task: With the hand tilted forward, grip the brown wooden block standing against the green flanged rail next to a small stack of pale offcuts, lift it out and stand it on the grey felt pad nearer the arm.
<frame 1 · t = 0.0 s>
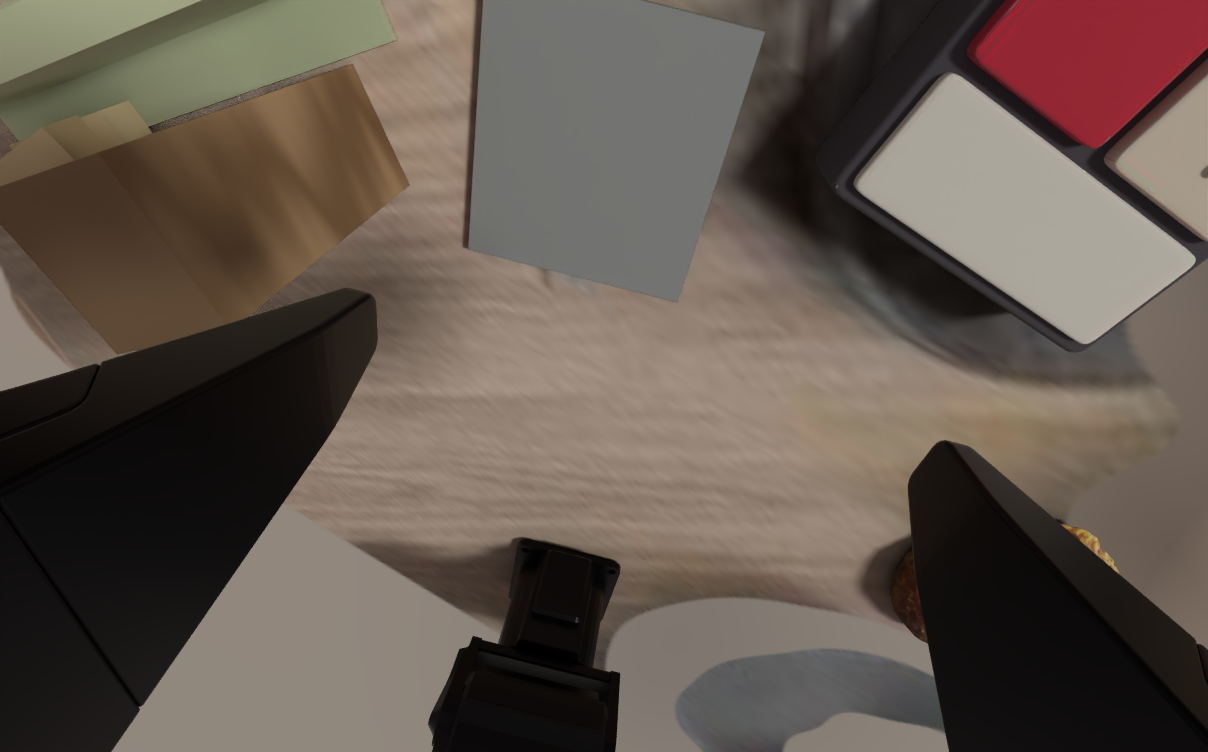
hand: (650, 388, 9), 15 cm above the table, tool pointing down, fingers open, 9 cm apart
felt pad: (597, 153, 22), on the table
offcut upper: (113, 207, 24), point 2 cm above the table, touching offcut lower
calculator: (1119, 38, 18), on the table
bread roll: (993, 570, 32), on the table
green flanged rail: (240, 171, 24), on the table
offcut lower: (147, 198, 25), on the table, touching offcut upper, green flanged rail
brown wooden block: (339, 140, 23), on the table
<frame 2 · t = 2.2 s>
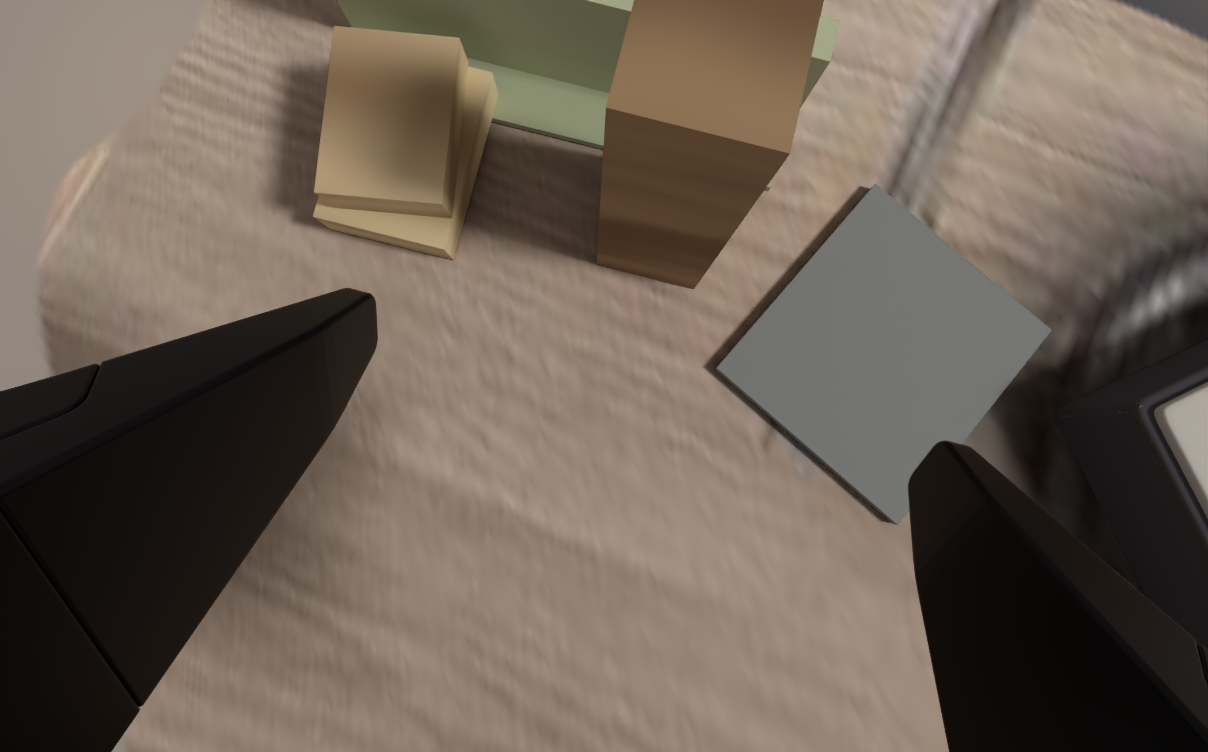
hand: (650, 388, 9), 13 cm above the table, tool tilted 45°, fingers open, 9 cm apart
felt pad: (881, 350, 23), on the table
offcut upper: (401, 134, 22), point 2 cm above the table, touching offcut lower
green flanged rail: (538, 194, 23), on the table
offcut lower: (415, 161, 23), on the table, touching offcut upper, green flanged rail
brown wooden block: (658, 224, 23), on the table
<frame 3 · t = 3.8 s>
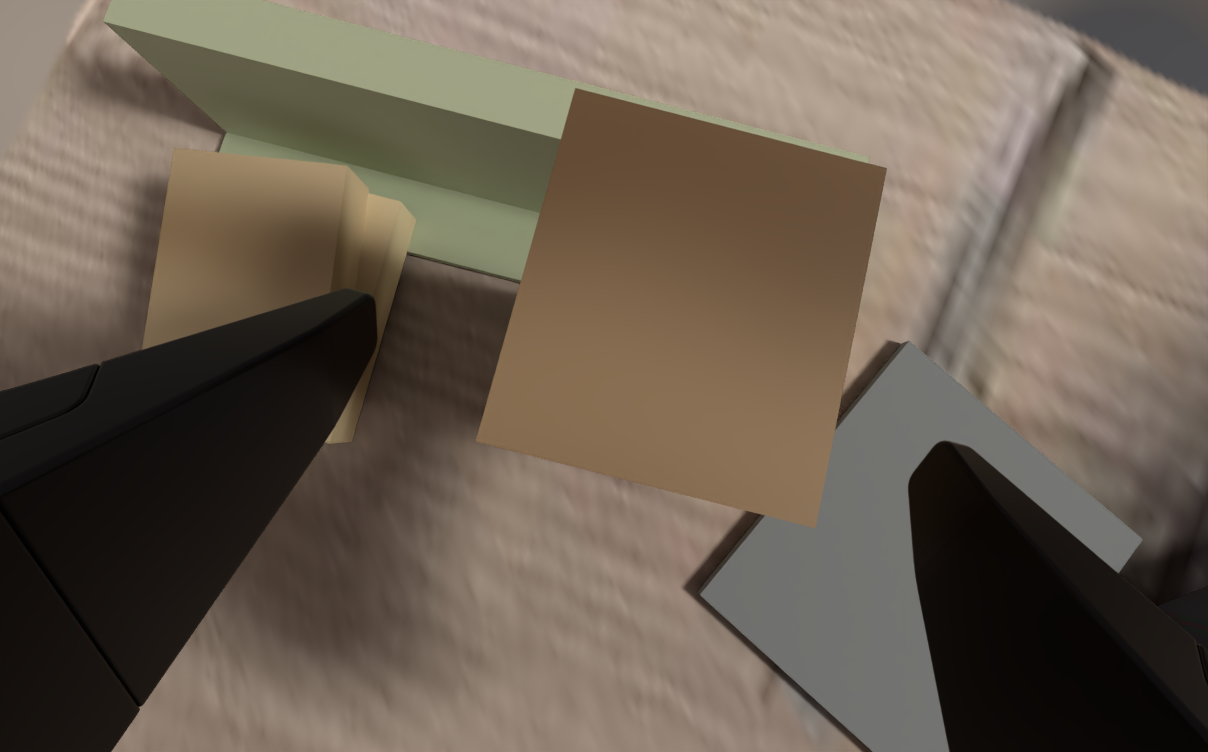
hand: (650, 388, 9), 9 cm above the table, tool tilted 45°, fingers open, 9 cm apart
felt pad: (917, 563, 17), on the table
offcut upper: (275, 285, 16), point 2 cm above the table, touching offcut lower
green flanged rail: (467, 351, 18), on the table
offcut lower: (304, 308, 18), on the table, touching offcut upper, green flanged rail
brown wooden block: (624, 391, 18), on the table
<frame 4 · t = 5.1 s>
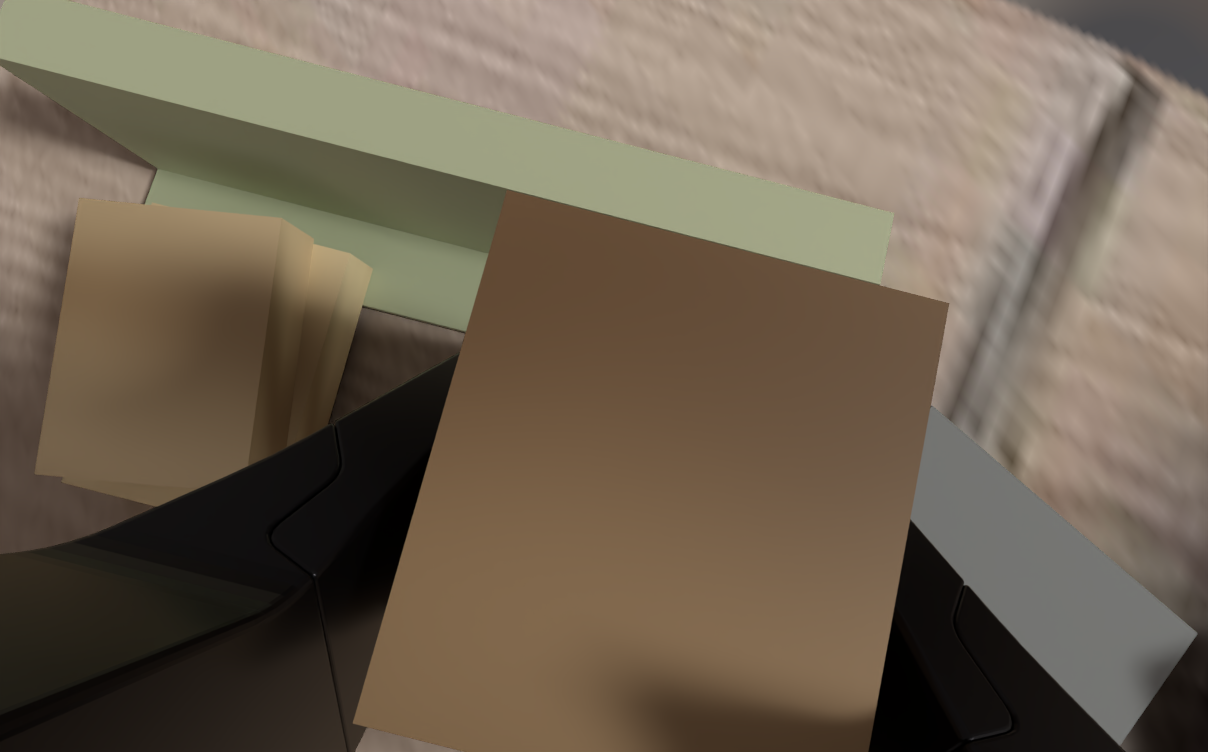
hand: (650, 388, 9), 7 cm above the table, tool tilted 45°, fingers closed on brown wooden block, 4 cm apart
felt pad: (941, 660, 15), on the table
offcut upper: (206, 351, 14), point 2 cm above the table, touching offcut lower
green flanged rail: (430, 418, 16), on the table
offcut lower: (245, 370, 15), on the table, touching offcut upper, green flanged rail
brown wooden block: (609, 463, 16), on the table, touching gripper
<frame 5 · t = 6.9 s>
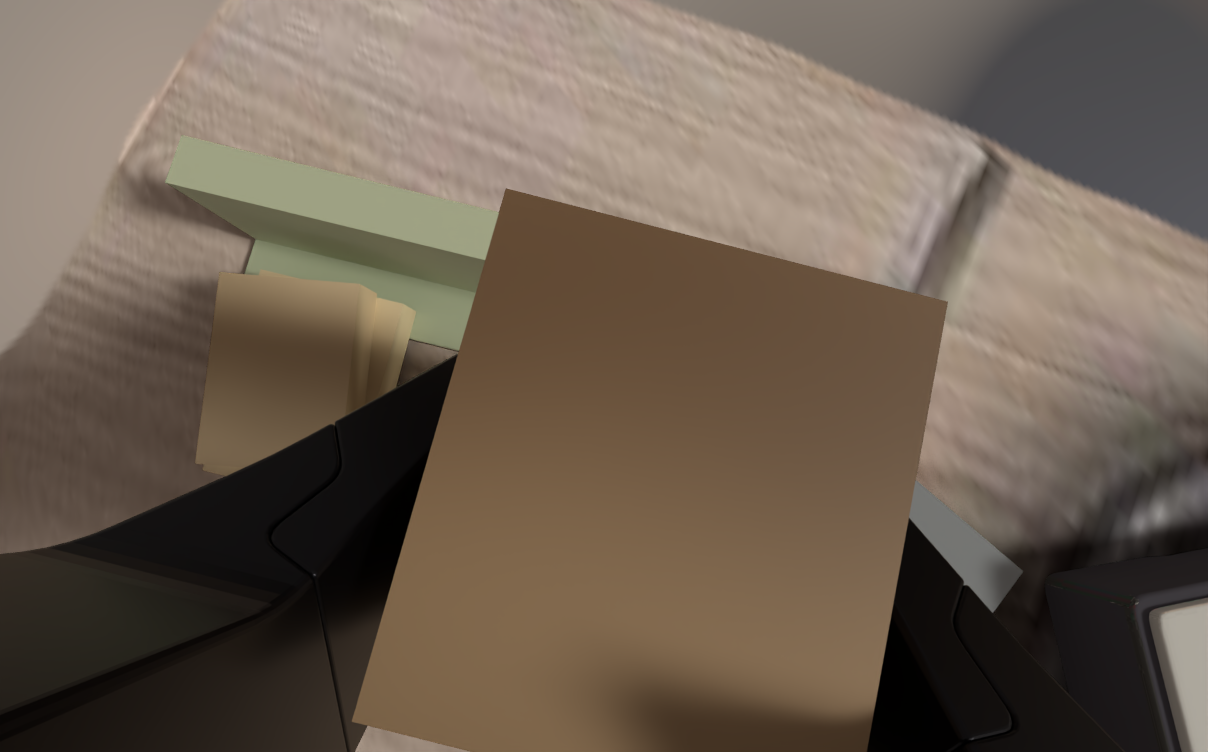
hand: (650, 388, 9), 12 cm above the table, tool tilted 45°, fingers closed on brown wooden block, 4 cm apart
felt pad: (837, 593, 21), on the table
offcut upper: (302, 375, 20), point 2 cm above the table, touching offcut lower
green flanged rail: (460, 421, 21), on the table
offcut lower: (324, 388, 21), on the table, touching offcut upper, green flanged rail
brown wooden block: (609, 463, 16), point 6 cm above the table, touching gripper
when the fingers open (8 cm above the table, at t = 8.9 s): brown wooden block stays where it is, resting on felt pad.
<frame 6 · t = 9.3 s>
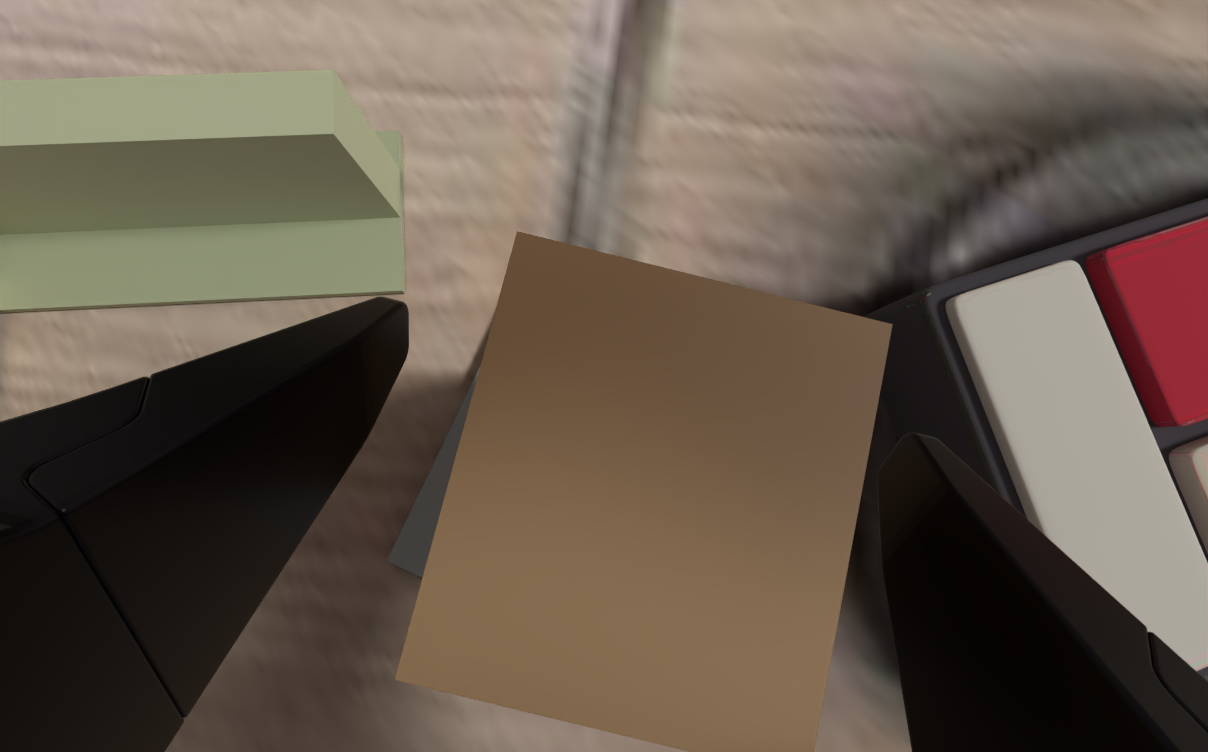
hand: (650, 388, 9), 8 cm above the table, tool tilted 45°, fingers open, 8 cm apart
felt pad: (607, 461, 17), on the table
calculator: (1124, 414, 18), on the table
green flanged rail: (90, 393, 17), on the table
brown wooden block: (608, 462, 17), resting on felt pad
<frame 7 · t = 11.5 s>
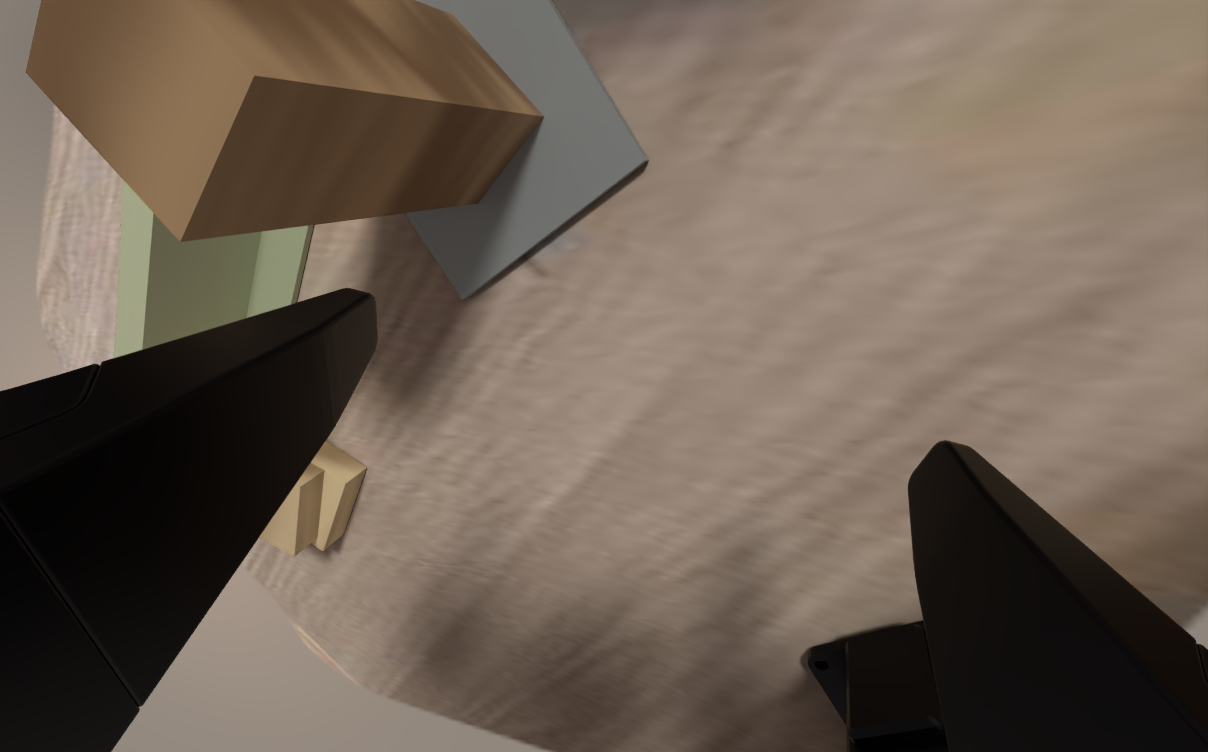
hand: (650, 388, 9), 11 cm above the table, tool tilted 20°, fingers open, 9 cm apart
felt pad: (471, 114, 21), on the table
offcut upper: (270, 479, 29), point 2 cm above the table, touching offcut lower
green flanged rail: (322, 389, 28), on the table
offcut lower: (299, 465, 30), on the table, touching offcut upper, green flanged rail
brown wooden block: (465, 113, 20), resting on felt pad
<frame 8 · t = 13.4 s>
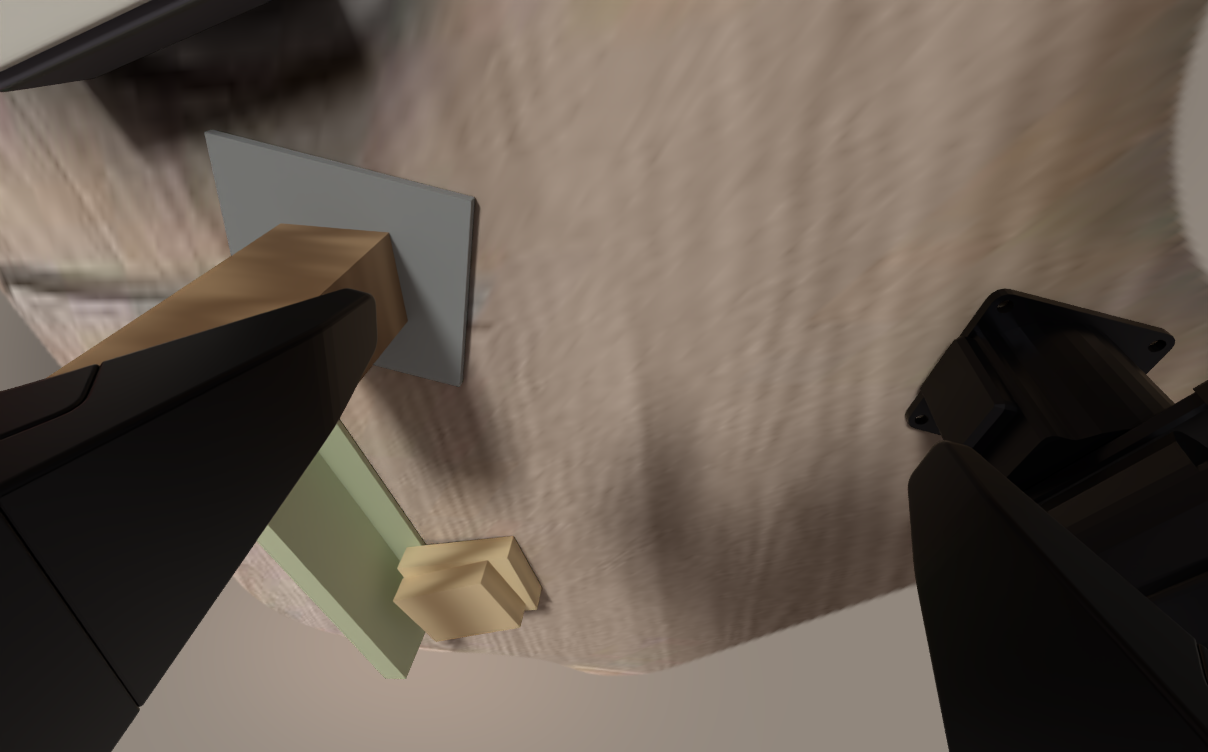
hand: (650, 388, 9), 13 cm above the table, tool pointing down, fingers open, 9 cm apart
felt pad: (351, 270, 24), on the table
offcut upper: (464, 591, 35), point 2 cm above the table, touching offcut lower
green flanged rail: (441, 510, 33), on the table
offcut lower: (475, 567, 36), on the table, touching offcut upper, green flanged rail
brown wooden block: (346, 274, 24), resting on felt pad
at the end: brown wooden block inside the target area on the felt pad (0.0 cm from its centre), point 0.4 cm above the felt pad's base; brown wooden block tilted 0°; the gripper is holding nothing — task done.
